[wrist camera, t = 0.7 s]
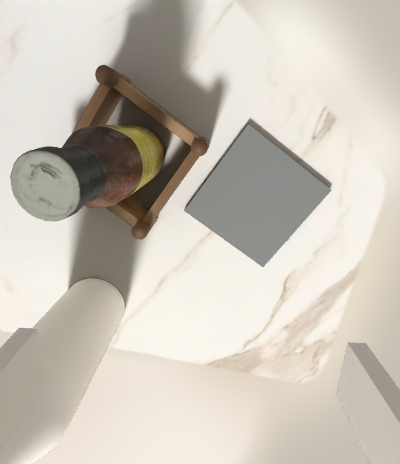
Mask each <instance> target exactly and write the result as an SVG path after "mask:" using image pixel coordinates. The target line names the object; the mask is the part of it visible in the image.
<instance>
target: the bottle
mask: <svg viewBox="0 0 400 464" xmlns="http://www.w3.org/2000/svg"><path fill="white" fill-rule="evenodd" d="M124 312H125V304H124V300H123V298H122V295H121V294H120V292H119V291H118V290H117V289H116V288H115V287H114V286H113V285H111V284H110V283H108V282H106V281H104V280H100V279H95V278H89V279H84V280H80V281H78V282H76V283H75V284H74V285H73V286H71V287H70V288H69V289H68V290H67V292H66V293H65V294H64V295H63V296H62V297H61V298H60V299H59V300H58V301H57V302H56V303H55V304H54V305H53V306H52V308H51V309H50V310H49V311H48V312H47V313H46V314H45V315H44V316H43V317H42V318H41V319H40V320H39V321H38V322H37V324H36V325H35V326H34V327H33V329H37V332H38V338H39V344H40V350H41V356H42V363H43V369H44V375H45V381H44V383H43V384H42V386H41V388H40V389H39V391H38V392H37V394H36V395H35V397H34V398H33V400H32V402H31V403H30V405H29V406H28V408H27V409H26V411H25V412H24V414H23V416H22V417H21V419H20V420H19V422H18V423H17V425H16V426H15V428H14V429H13V431H12V433H11V434H10V436H9V437H8V439H7V440H6V442H5V443H4V445H3V447H2V448H1V450H0V464H31V463H32V462H34V461H35V460H37V459H38V458H40V457H41V456H43V455H44V454H46V453H47V452H48V451H49V450H51V449H52V448H53V447H54V446H55V445H56V444H57V443H58V441H59V440H60V439H61V438H62V436H63V435H64V433H65V431H66V429H67V427H68V426H69V424H70V422H71V420H72V418H73V416H74V414H75V412H76V410H77V407H78V406H79V404H80V402H81V400H82V398H83V396H84V394H85V392H86V390H87V388H88V386H89V384H90V382H91V380H92V378H93V376H94V374H95V372H96V370H97V368H98V366H99V364H100V362H101V360H102V358H103V356H104V354H105V352H106V350H107V348H108V346H109V344H110V342H111V340H112V338H113V336H114V334H115V332H116V330H117V328H118V326H119V324H120V322H121V320H122V318H123V316H124Z"/></svg>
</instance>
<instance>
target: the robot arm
mask: <svg viewBox="0 0 400 464" xmlns="http://www.w3.org/2000/svg"><path fill="white" fill-rule="evenodd" d="M44 381H45V375H44V369H43V363H42V356H41V350H40V344H39V338H38V332H37V329H33V328H19V329H18V330H17V331H16V332H15V333H14V334H13V335H12V336H11V337H10V338H9V339H8V340H7V342H5V344H4V345H3V346H2V347H1V348H0V450H1V448H2V447H3V445H4V443H5V442H6V440H7V439H8V437H9V436H10V434H11V433H12V431H13V429H14V428H15V426H16V425H17V423H18V422H19V420H20V419H21V417H22V416H23V414H24V412H25V411H26V409H27V408H28V406H29V405H30V403H31V402H32V400H33V398H34V397H35V395H36V394H37V392H38V391H39V389H40V388H41V386H42V384H43V383H44ZM336 394H337V396H338V399H339V401H340V403H341V405H342V407H343V409H344V411H345V413H346V415H347V417H348V420H349V422H350V424H351V426H352V428H353V430H354V432H355V434H356V436H357V439H358V441H359V442H360V445H361V447H362V449H363V451H364V453H365V455H366V457H367V459H368V462H369V464H400V390H399V388H398V387H397V385H396V384H395V383H394V381H393V380H392V379H391V377H390V376H389V374H388V373H387V372H386V370H385V369H384V367H383V366H382V365H381V363H380V362H379V361H378V359H377V358H376V357H375V355H374V354H373V352H372V351H371V350H370V348H369V347H368V345H367V344H366V343H347V348H346V352H345V356H344V361H343V365H342V370H341V375H340V379H339V383H338V388H337V393H336Z"/></svg>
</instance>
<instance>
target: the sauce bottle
mask: <svg viewBox="0 0 400 464" xmlns="http://www.w3.org/2000/svg"><path fill="white" fill-rule="evenodd" d="M164 156H165V154H164V149H163V146H162V143H161V141H160V139H159V137H158V136H157V135H156V134H155V133H153V132H152V131H150V130H148V129H147V128H145V127H142V126H139V125H101V126H100V125H98V126H88V127H84V128H81V129H79V130H77V131H75V132H74V133H73V134H72V135H71V136H70V137H69V138H68V140H67V141H66V142H65V144H64V145H63V147H62V148H57V147H42V148H38V149H35V150H31V151H28V152H26V153H24V154H22V155H21V156H20V157H19V158H18V159H17V160H16V162H15V163H14V165H13V168H12V172H11V176H10V177H11V186H12V190H13V194H14V196H15V198H16V199H17V201H18V203H19V204H20V205H21V207H22V208H23V209H24V210H25V211H26V212H28V213H29V214H31V215H32V216H34V217H36V218H39V219H43V220H45V221H59V220H62V219H65V218H67V217H69V216H71V215H73V214H75V213H77V212H78V211H79V210H80V209H81V208H82V207H83V205H86V206H88V207H91V208H97V207H107V206H111V205H114V204H116V203H118V202H120V201H122V200H123V199H125V198H127V197H129V196H130V195H131V194H133V193H134V192H136V191H137V190H138V189H140V188H141V187H142V186H144V185H145V184H146V183H148V182H149V181H150V180H152V179H153V178H154V177H155V176H156V175H157V174H158V173H159V171H160V169H161V167H162V164H163V162H164Z"/></svg>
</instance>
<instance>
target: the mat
mask: <svg viewBox="0 0 400 464" xmlns="http://www.w3.org/2000/svg"><path fill="white" fill-rule="evenodd" d="M330 191H331V189H330V188H328V187H327V186H326V185H325V184H323V183H322V182H321V181H320V180H318V179H317V178H316V177H315V176H313V175H312V174H311V173H310V172H308V171H307V170H306V169H305V168H303V167H302V166H301V165H300V164H298V163H297V162H296V161H294V160H293V159H292V158H291V157H289V156H288V155H287V154H286V153H284V152H283V151H282V150H281V149H279V148H278V147H277V146H276V145H274V144H273V143H272V142H271V141H269V140H268V139H267V138H266V137H264V136H263V135H262V134H261V133H259V132H258V131H257V130H256V129H254V128H253V127H252V126H251V125H249V124H248V125H247V126H246V127H245V129H244V130H243V131H242V133H241V134H240V135H239V137H238V138H237V139H236V141H235V142H234V143H233V145H232V146H231V148H230V149H229V150H228V152H227V153H226V154H225V156H224V157H223V158H222V160H221V161H220V162H219V164H218V165H217V166H216V168H215V169H214V171H213V172H212V173H211V175H210V176H209V177H208V179H207V180H206V181H205V183H204V184H203V185H202V187H201V188H200V189H199V191H198V192H197V194H196V195H195V196H194V198H193V199H192V200H191V202H190V203H189V204H188V206H187V207H186V208H185V210H184V211H186V212H187V213H188V214H190V215H191V216H192V217H194V218H195V219H197V220H198V221H199V222H201V223H202V224H204V225H205V226H206V227H208V228H209V229H211V230H212V231H213V232H215V233H216V234H218V235H219V236H220V237H222V238H223V239H224V240H226V241H227V242H229V243H230V244H231V245H233V246H234V247H236V248H237V249H238V250H240V251H241V252H243V253H244V254H245V255H247V256H248V257H250V258H251V259H252V260H254V261H255V262H257V263H258V264H259V265H261V266H262V267H264V266H265V265H266V263H267V262H268V261H269V260H270V259H271V258H272V257H273V255H274V254H275V253H276V252H277V251H278V250H279V249H280V248H281V246H282V245H283V244H284V243H285V242H286V241H287V240H288V239H289V237H290V236H291V235H292V234H293V233H294V232H295V231H296V230H297V228H298V227H299V226H300V225H301V224H302V223H303V222H304V221H305V219H306V218H307V217H308V216H309V215H310V214H311V213H312V212H313V210H314V209H315V208H316V207H317V206H318V205H319V204H320V203H321V201H322V200H323V199H324V198H325V197H326V196H327V195H328V194H329V192H330Z"/></svg>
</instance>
